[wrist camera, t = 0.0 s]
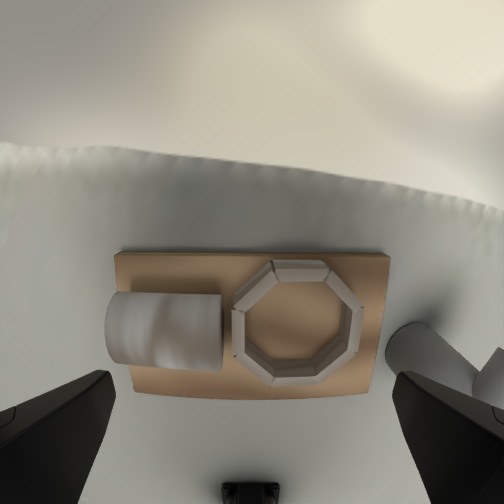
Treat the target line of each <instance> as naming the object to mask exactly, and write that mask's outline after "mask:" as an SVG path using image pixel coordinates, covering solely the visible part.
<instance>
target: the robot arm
mask: <svg viewBox="0 0 504 504" xmlns="http://www.w3.org/2000/svg"><path fill="white" fill-rule="evenodd" d="M115 398H116V392H115V388H114V384H113V380H112V376H111V373H110V372H109V371H105V370H96V371H93V372H91V373H89V374H87V375H85V376H83V377H80V378H78V379H76V380H74V381H71V382H69V383H67V384H65V385H62V386H60V387H58V388H56V389H53V390H51V391H49V392H46V393H44V394H42V395H40V396H37V397H35V398H33V399H30V400H28V401H25V402H23V403H21V404H18V405H17V406H13V407H11V408H9V409H6V410H4V411H1V412H0V504H78V501H79V498H80V496H81V493H82V490H83V488H84V485H85V483H86V480H87V478H88V475H89V472H90V470H91V467H92V465H93V463H94V460H95V458H96V455H97V453H98V450H99V448H100V446H101V443H102V441H103V438H104V436H105V433H106V429H107V426H108V422H109V419H110V415H111V412H112V409H113V405H114V402H115ZM392 398H393V402H394V405H395V408H396V412H397V415H398V418H399V422H400V425H401V429H402V432H403V435H404V437H405V440H406V442H407V445H408V447H409V449H410V452H411V454H412V456H413V459H414V461H415V464H416V466H417V469H418V471H419V474H420V476H421V479H422V481H423V484H424V486H425V489H426V491H427V494H428V497H429V499H430V502H431V504H504V410H503V409H500V408H498V407H495V406H491V405H490V404H488V403H486V402H483V401H481V400H478V399H476V398H474V397H471V396H469V395H466V394H464V393H462V392H459V391H457V390H455V389H452V388H450V387H448V386H445V385H443V384H441V383H438V382H436V381H434V380H432V379H429V378H427V377H425V376H423V375H420V374H418V373H416V372H414V371H411V370H407V371H401V372H399V373H398V375H397V377H396V381H395V385H394V389H393V393H392ZM279 490H280V485H279V484H277V483H273V484H233V483H224V484H222V496H223V504H278V498H279Z"/></svg>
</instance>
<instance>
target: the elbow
mask: <svg viewBox="0 0 504 504" xmlns="http://www.w3.org/2000/svg"><path fill="white" fill-rule="evenodd" d="M386 361H387V364H388V365H389V367H390V368H391V370H392V371H393V372H394V374H395V375H396V377H397V375H398V373H399V372H401V371H407V370H411V371H414V372H416V373H418V374H420V375H423V376H425V377H427V378H429V379H432V380H434V381H436V382H438V383H441V384H443V385H445V386H448V387H450V388H452V389H455V390H457V391H459V392H462V393H464V394H466V395H469V396H471V397H474V398H476V399H478V400H481V401H483V402H486V403H488V404H490V405H491V406H495V407H498V408H500V409H503V410H504V350H503V349H501V348H500V347H498V348H497V349H496V351H495V352H494V353H493V355H492V356H491V358H490V359H489V360H488V362H487V363H486V365H485V366H484V367H483V368H482V370H481V371H480V372H479V371H478V370H477V369H476V368H475V367H474V366H473V365H472V364H471V363H470V362H468V361H467V360H466V359H465V358H464V357H463V356H462V355H461V354H460V353H458V352H457V351H456V350H455V349H454V348H453V347H452V346H451V345H449V344H448V343H447V342H446V341H445V340H444V339H443V338H442V337H440V336H439V335H438V334H437V333H436V332H435V331H433V330H432V329H431V328H430V327H429V326H428V325H426V324H424V323H420V322H416V323H411V324H408V325H406V326H404V327H403V328H401V329H400V330H399V331H398V332H396V333H395V335H394V336H393V337H392V339H391V340H390V342H389V344H388V346H387V349H386Z"/></svg>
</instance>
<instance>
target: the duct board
mask: <svg viewBox="0 0 504 504" xmlns="http://www.w3.org/2000/svg"><path fill="white" fill-rule="evenodd" d="M114 260H115V271H116V281H117V290H118V292H117V293H115V294H114V295H113V297H112V298H111V300H110V303H109V305H108V308H107V312H106V318H105V340H106V346H107V350H108V353H109V355H110V357H111V359H112V360H113V361H114V362H115V363H118V364H127V365H129V367H130V372H131V377H132V382H133V386H134V391H135V392H139V393H147V394H156V395H165V396H177V397H190V398H206V399H232V400H278V399H304V398H320V397H333V396H344V395H354V394H363V393H368V390H369V386H370V382H371V377H372V373H373V368H374V363H375V358H376V353H377V348H378V343H379V337H380V331H381V325H382V319H383V313H384V306H385V299H386V291H387V284H388V275H389V266H390V257H389V256H388V255H386V254H366V253H198V252H119V253H118V254H116V255H114Z"/></svg>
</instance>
